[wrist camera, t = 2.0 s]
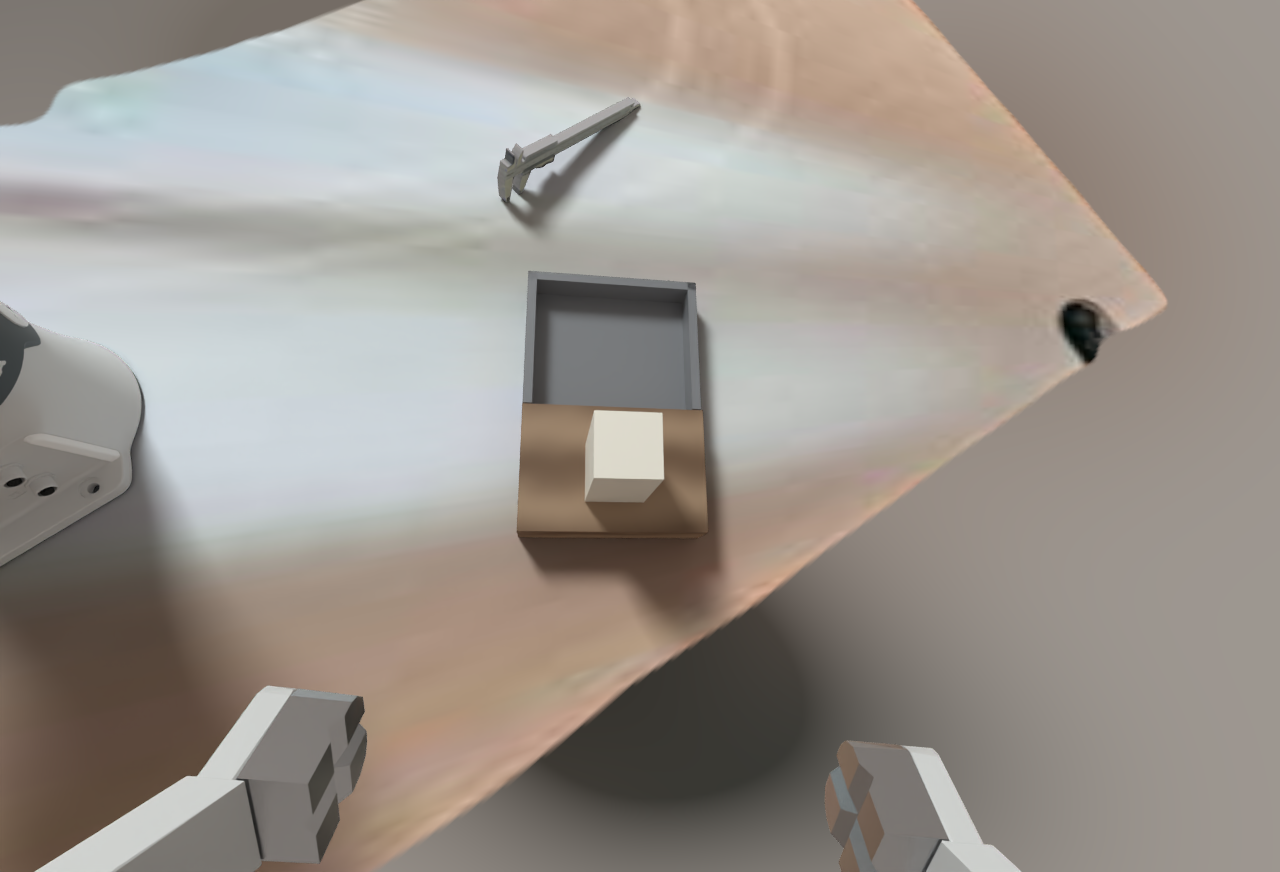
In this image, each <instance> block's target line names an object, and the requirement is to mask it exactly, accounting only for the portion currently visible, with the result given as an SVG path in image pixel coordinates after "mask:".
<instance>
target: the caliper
mask: <svg viewBox="0 0 1280 872" xmlns="http://www.w3.org/2000/svg"><path fill="white" fill-rule="evenodd" d="M639 106H640V103H639V102H638V101H637V100H636V99H634V98H632V99H630V98H629V97H627V98H625V99H623V100H622V101H620V102H618V103H616V104H614V105H612V106H610V107H608V108H606V109H604V110H602V111H600V112H598V113H596V114H595V115H593V116H591V117H589V118H587V119H585V120H583V121H581V122H579V123H577V124H575V125H573V126H572V127H570V128H568V129H566V130H564V131H562V132H560V133H558V134H556V135H554V136H552V135H551V134H550V135H548V136H546V137H544V138H542V139H540V140H538V141H536V142H534V143H532V144H530V145H528V146H526V147H524V148H521V147H520V146H519V145H518V144H515V146H514V148H513V150H512V152H511V151H510V150H509V149H508V148H506V155H505V158H504V159H502V160H501V161H500V166H499V172H498V177H497V178H498V189H499V196H500V197H501V198H502V199H503V200H505V201H506V202H510V196H511V190H512V189H513V190H514V191H515V192H516V193H517V194H518V195H519V194H521V193H522V192H523V190H524V187H525V185H526V182H527V180H528V177H529V175H530V172H531V170H533V169H535V168H541V167H544V166H545V165H546V164H548V163H551V162H553V161H554V157H555V155H556V154H558V153H560V152H561V151H563V150H565V149H567V148H569V147H571V146H572V145H574V144H576V143H578V142H580V141H582V140H583V139H585V138H587V137H589V136H591V135H593V134H594V133H596V132H598V131H600V130H602V129H604V128H606V127H607V126H609V125H611V124H613V123H615V122H617V121H619V120H621V119H622V118H624V117H625V116H627V115H628V114H629V113H631V112H632V110H633V109H635V108H637V107H639ZM512 185H513V187H512Z"/></svg>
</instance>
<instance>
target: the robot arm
mask: <svg viewBox="0 0 1280 872" xmlns="http://www.w3.org/2000/svg"><path fill="white" fill-rule="evenodd" d="M140 416H141V394H140V389H139V386H138V383H137V380H136V378H135V376H134V374H133V372H132V371H131V369H130V368H129V367H128V365H127V364H126V363H125V362H124V361H123V360H122V359H121V358H120V357H119V356H118V355H116V354H115V353H114V352H112V351H111V350H109V349H107V348H106V347H104V346H102V345H99V344H97V343H94V342H91V341H88V340H84V339H80V338H74V337H70V336H65V335H62V334H59V333H56V332H53V331H50V330H47V329H45V328H42V327H40V326H37V325H35V324H32V323H30V322H28V321H27V320H26V319H25V318H24V317H23V316H22V315H21V314H19V313H18V312H17V311H15V310H14V309H12V308H11V307H9V306H8V305H6V304H4V303H3V302H1V301H0V566H2V565H4V564H5V563H7V562H9V561H10V560H12V559H14V558H15V557H17V556H19V555H20V554H22V553H24V552H25V551H27V550H29V549H30V548H32V547H34V546H35V545H37V544H39V543H40V542H42V541H44V540H45V539H47V538H49V537H51V536H52V535H54V534H56V533H57V532H59V531H61V530H62V529H64V528H66V527H67V526H69V525H71V524H72V523H74V522H76V521H77V520H79V519H81V518H82V517H84V516H86V515H87V514H89V513H91V512H92V511H94V510H96V509H97V508H99V507H101V506H102V505H104V504H106V503H107V502H109V501H111V500H112V499H114V498H116V497H118V496H119V495H121V494H122V493H124V492H125V491H126V490H127V489H128V488H129V486H130V484H131V481H132V464H131V456H130V450H131V446H132V442H133V439H134V437H135V434H136V431H137V428H138V425H139V421H140ZM97 485H99V487H100V488H99V490H98V491H97V492H96V493H94V492H93V490H94V488H95V487H96V486H97ZM364 712H365V709H364V702H363V697H360V696H354V695H346V694H338V693H330V692H321V691H313V690H305V689H295V688H285V687H276V686H266V687H265V688H264V689H262V690H261V691H260V692H258V693H257V694H256V696H255V697H254V698H253V700H252V701H251V702H250V704H249V705H248V707H247V708H246V709H245V711H244V712H243V713H242V715H241V716H240V718H239V719H238V720H237V722H236V723H235V725H234V726H233V727H232V729H231V730H230V731H229V733H228V734H227V736H226V737H225V738H224V740H223V741H222V742H221V744H220V745H219V747H218V748H217V749H216V751H215V752H214V754H213V755H212V756H211V758H210V759H209V760H208V762H207V763H206V765H205V766H204V767H203V769H202V770H201V771H200V773H199V774H198V776H186V777H184V778H183V779H181V780H179V781H178V782H176V783H175V784H173V785H172V786H170V787H168V788H167V789H165V790H164V791H162V792H160V793H159V794H157V795H156V796H154V797H152V798H151V799H149V800H148V801H146V802H144V803H143V804H141V805H140V806H138V807H137V808H135V809H133V810H132V811H130V812H129V813H127V814H125V815H124V816H122V817H121V818H119V819H117V820H116V821H114V822H113V823H111V824H110V825H108V826H106V827H105V828H103V829H102V830H100V831H98V832H97V833H95V834H94V835H92V836H90V837H89V838H87V839H86V840H84V841H82V842H81V843H79V844H78V845H76V846H75V847H73V848H71V849H70V850H68V851H67V852H65V853H63V854H62V855H60V856H59V857H57V858H55V859H54V860H52V861H51V862H49V863H47V864H46V865H44V866H43V867H41V868H40V869H38V870H36V871H35V872H254V871H255V870H256V869H258V868H259V867H260V866H261V864H262V862H261V861H276V862H296V863H317V864H320V862H321V860H322V858H323V855H324V853H325V851H326V849H327V847H328V845H329V842H330V840H331V838H332V836H333V834H334V832H335V829H336V827H337V825H338V823H339V821H340V817H339V808H338V804H339V803H340V802H341V801H342V800H344V799H345V798H346V797H347V796H349V795H350V794H351V793H352V792H353V790H354V788H355V785H356V783H357V781H358V779H359V776H360V773H361V770H362V766H363V763H364V759H365V756H366V747H367V733H366V730H365V729H364V728H363V727H362V726H361V725H360V724H359V722H360V720H361V718H362V716H363V714H364ZM837 758H838V761H839V764H840V766H839V767H838V768H836V769H835V770H833V771H832V772H830V774H829V777H828V780H827V783H826V787H825V810H826V817H827V821H828V825H829V829H830V832H831V834H832V835H833V837H834V838H835V839H836V840H837V841H838V842H839V843H840V845H841V846H842V847H843V848H844V849H843V852H842V855H841V857H840V860H839V865H840V868H841V872H1021V871H1020V870H1019V869H1018V868H1017V867H1016V866H1015V865H1014V864H1013V863H1011V862H1010V861H1009V860H1008V859H1007V858H1006V857H1005V856H1004V855H1003V854H1002V853H1001V852H999V851H998V850H997V849H996V848H995V847H994V846H993V845H986V844H983V842H982V840H981V838H980V836H979V834H978V832H977V830H976V828H975V826H974V825H973V822H972V820H971V818H970V816H969V814H968V812H967V810H966V808H965V806H964V804H963V802H962V800H961V799H960V796H959V794H958V793H957V790H956V788H955V786H954V784H953V783H952V780H951V779H950V777H949V775H948V773H947V771H946V769H945V767H944V765H943V763H942V761H941V759H940V757H939V755H938V754H937V753H936V752H935V751H934V750H933V749H932V748H923V747H911V746H900V745H896V744H884V743H870V742H858V741H845V742H843V743H842V744H841V745H840V748H839V750H838V753H837Z"/></svg>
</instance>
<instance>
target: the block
mask: <svg viewBox="0 0 1280 872" xmlns="http://www.w3.org/2000/svg"><path fill="white" fill-rule="evenodd" d="M663 480H664V456H663V416H662V413H656V412H630V411H604V410H594V413H593V417H592V421H591V425H590V429H589V432H588V436H587V440H586V444H585V502H643V503H644V502H645V500H646V499H647V498H648V497H649V496H650V495H651V494H652V493H653V491H654V490H655V489H656V488H657V487H658V486H659V485H660V484H661V482H662V481H663Z"/></svg>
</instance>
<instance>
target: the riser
mask: <svg viewBox="0 0 1280 872" xmlns="http://www.w3.org/2000/svg"><path fill="white" fill-rule="evenodd" d="M594 410H604V411H630V412H656V413H662V416H663V456H664V480H663V481H662V482H661V484H660V485H659V486H658V487H657V488H656V489H655V490H654V491H653V493H652V494H651V495H650V496H649V497H648V498H647V499H646V500H645V502H644V503H643V502H585V444H586V440H587V436H588V432H589V429H590V425H591V421H592V417H593V413H594ZM706 533H708V517H707V495H706V472H705V450H704V428H703V410H681V409H656V408H631V407H605V406H580V405H555V404H529V403H522V425H521V447H520V470H519V492H518V515H517V534H518V537H545V538H699V537H701V536H703V535H704V534H706Z"/></svg>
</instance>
